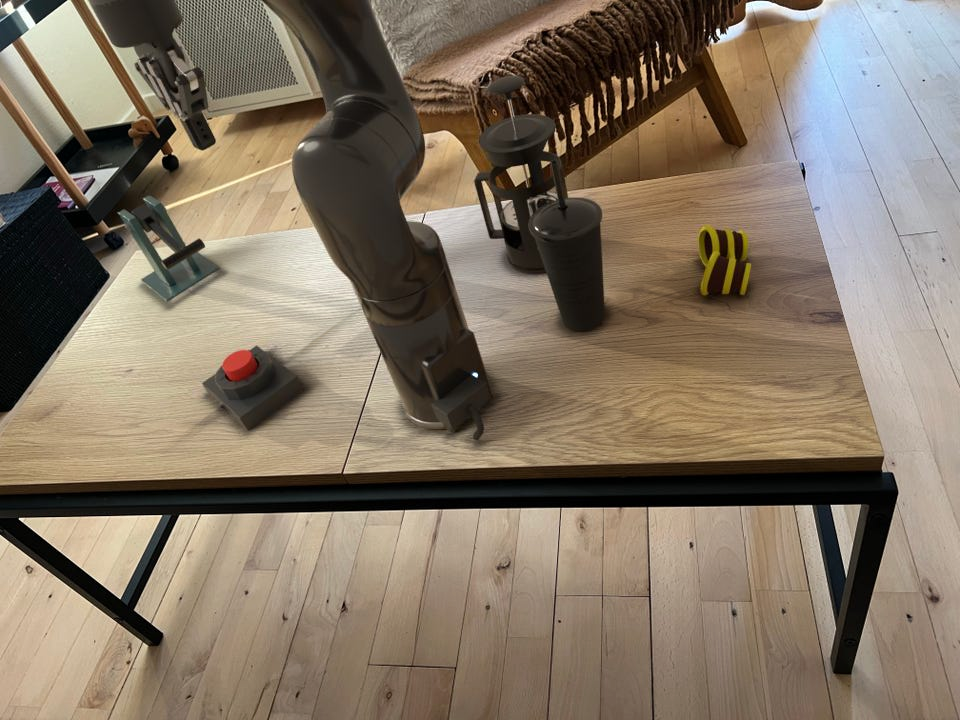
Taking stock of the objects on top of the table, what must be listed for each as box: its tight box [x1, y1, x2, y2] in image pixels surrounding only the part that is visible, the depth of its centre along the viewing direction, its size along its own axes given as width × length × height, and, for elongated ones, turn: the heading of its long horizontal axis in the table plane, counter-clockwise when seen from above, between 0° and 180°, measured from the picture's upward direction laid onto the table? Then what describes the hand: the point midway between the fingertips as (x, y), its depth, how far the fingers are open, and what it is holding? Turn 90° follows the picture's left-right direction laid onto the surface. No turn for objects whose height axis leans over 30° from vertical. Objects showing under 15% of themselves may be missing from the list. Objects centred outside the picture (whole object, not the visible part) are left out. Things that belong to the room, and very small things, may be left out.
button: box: [221, 349, 258, 382], centre depth 90 cm, size 4×4×2 cm
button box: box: [201, 345, 305, 432], centre depth 92 cm, size 10×8×4 cm
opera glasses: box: [697, 224, 752, 296], centre depth 87 cm, size 10×5×5 cm, turn 170°
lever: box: [130, 203, 206, 270], centre depth 109 cm, size 12×6×2 cm, turn 43°
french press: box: [473, 75, 569, 275], centre depth 93 cm, size 12×9×23 cm
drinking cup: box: [528, 161, 606, 333], centre depth 83 cm, size 8×8×20 cm
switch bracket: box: [117, 195, 220, 302], centre depth 114 cm, size 10×9×13 cm
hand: (206, 146), depth 87 cm, fingers closed
